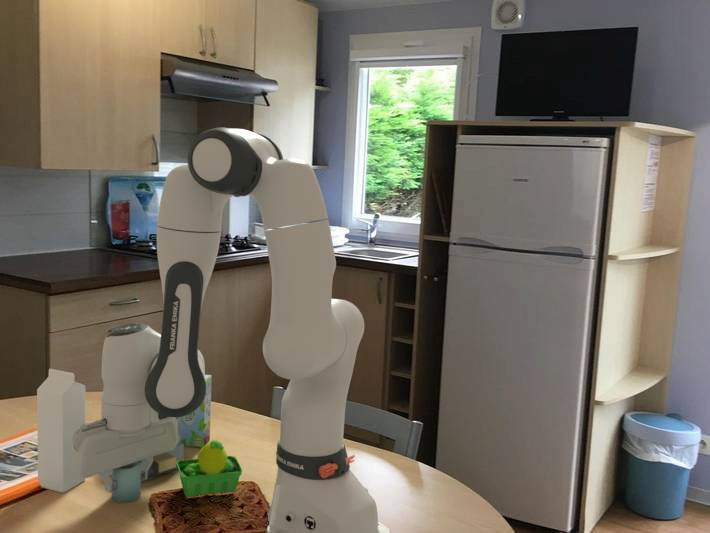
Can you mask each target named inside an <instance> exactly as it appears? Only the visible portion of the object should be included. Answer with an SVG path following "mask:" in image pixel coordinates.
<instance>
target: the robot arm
mask: <svg viewBox="0 0 710 533" xmlns="http://www.w3.org/2000/svg"><path fill="white" fill-rule="evenodd" d="M163 184H164V185H163V187H162V192H161V196H160V201H159V207H158V215H157V224H156V225H157V226H156V254H157V261H158V270H159V276H160V282H161V290H162V299H163V300H162V302H163V303H162V304H163V305H162V306H163V307H162V308H163V309H162V317H161V318H162V319H161V330H160V332H161V333H159V332H157V331H156V330H154V329H153V328H151V327H150V326H149V325H147V324H145V323H130V324H129V323H128V324H124V325H121V326H119V327H116V328H114V329H113V330H111V331H110V332H108V334H107V335H106V337H105V338H104V341H103V346H102V353H101V354H102V355H101V379H102V382H103V390H102V393H101V398H100V400H101V402H100V404H101V406H100V409H101V410H100V411H101V412H100V416H101V417H100V419H99V420H95V421H93V422H90V423H89V422H88V423H87V422H86V423H85V424H83V425H81V426H80V428H79V429H77V430H76V432H75V433H74V434H73V450H72V457H71V470H72V471H73V472H74V473H75V474H76V475H78V476H79V477H81V478H85V479H88V478H91V477H94V476H96V475H99V476H100V478H101V479H102V481H104V483H103V484H104V485H103V486H104V490H105V492H107V493H112V491H115V490H117V487H116V486H117V481H115V480H114V479H112V477H110V476H112V470H113V469H116V468H119V467H122V466H125V465H128V464H131V463H134V462H137V461H140V460H142V463H141V481H143V480H145V481H147V480H146V479H147V471H148V470H149V468H150V466H151V464H152V462H153V456H156V455H159V454H162V453H165V452H168V451H171V450H174V448H175V447H176V445H177V443H178V426H177V420H176V419H175V417H182V416H186V415H188V414H190V413H192V412H194V411H195V410H196V409H197V408H198V407H199V406H200V405H201V404H202V402H203V400H204V398H205V394H206V383H205V375H206V374H205V373H206V371H205V370H206V367H205V366H206V362H205V358H204V357H205V356H204V354H203V353H202V351H201V350H200V349H199V340H200V339H199V338H200V326H201V316H202V315H201V314H202V307H203V301H204V298H205V294H206V291H207V288H208V285H209V282H210V280H211V277H212V275H213V270H214V268H215V265H216V261H217V258H218V252H219V249H220V243H221V235H222V222H223V212H224V208H225V206H226V204H227V202H228V200H230V198H232V197H235V198H239V197H247V196H249V197H250V198H252V199H254V201H255V202H256V204H257V206H258V208H259V212H260V216H261V220H262V227H263V233H264V236H265V243H266V249H267V255H268V260H269V266H270V267H269V268H270V275H271V303H270V304H271V305H270V317H269V324H268V328H267V330H266V332H265V335H264V337H263V341H262V354H263V358H264V360H265V363H266V364H267V366H268V368H269V369H270V370H271V371H272V372H273V373H274V374H275V375H276V376H278V377H281V378H283V379H285V380H289V382H288V385H287V388H286V389H285V392H284V394H283V397H282V400H281V403H280V404H281V407H280V408H281V410H280V428H279V430H280V431H279V432H280V433H279V440H278V441H277V444H276V451H275V457H276V458H275V460H276V461H275V464H276V465H277V473H276V479H275V483H274V489H273V494H272V499H271V504H270V506H269V510H268V512H267V515H268V521H269V525H268V524H267V528H266V532H265V533H392V532H391V529H390V528H389V527H388V526H386V525H385V524H384V523H382V522H380V521H379V518H378V517H379V516H378V506H377V502H376V500H375V499H374V497H373V496H372V495H371V494H370V493H369V490H368V489H367V487H366V486H364V485H363V484H362V482H361V481H360V480H359V479H358V478H357V476H356V475H355V474H354V473H353V471H352V470H351V469H350V468H351V465H350V464H352V463H353V462H355V459H354V458H355V457H356V456H355V455H354V454H353V455H350V456H348V453H347V449H346V445H345V444H344V434H345V432H344V431H345V418H346V417H345V416H346V415H345V414H346V404H347V399H348V393H349V389H350V384H351V381H352V377H353V372H354V367H355V364H356V358H357V352H358V349H359V346H360V343H361V340H362V338H363V336H364V334H365V321H364V319H365V318H364V317H363V313H362V312H361V311H360V309H359V308H358V307H357V306H356V305H355V304H354V303H353V302H350V301H348V300H346V299H339V298H332V296H333V295H332V294H333V292H332V291H333V279H334V275H335V274H334V273H335V272H336V268H337V261H336V260H337V259H336V255H335V249H334V243H333V237H332V232H331V227H330V226H331V225H330V221H329V216H328V212H327V211H328V210H327V208H326V203H325V199H324V195H323V192H322V190H321V189H322V188H321V186H320V183H319V181H318V178H317V174H316V173H315V171H314V168H313V167H312V166H311V164H309V163H307V162H306V161H304V160H300V159H297V158H285V159H284V156H283V153H282V151H281V149H280V147H279V146H278V145H277V143H275V142H274V141H273V140H272V139H271V138H270V137H268V136H266V135H264V134H261V133H255V132H253V131H250V130H248V129H245V128H235V127H233V128H231V127H221V126H220V127H215V128H211V129H208V130H205V131H203V132H202V133H200V134H198V136H197V137H195V139H194V140H193V141H192V143H191V145H190V147H189V149H188V153H187V164H182V165H179V166H176V167H174V168H172V169H171V170H170V171H169V172H168V174H167V175H166V177H165V180H164V183H163ZM80 430H81V431H80ZM143 482H144V481H143Z"/></svg>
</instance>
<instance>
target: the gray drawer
mask: <svg viewBox="0 0 710 533" xmlns="http://www.w3.org/2000/svg"><path fill="white" fill-rule="evenodd" d="M184 448H185V446H184V444H183V443H181V442H180V436H178V443H177V445H176V447H175V448H174V450H171V451H168V452H165V453H162V454H159V455H156V456H153V462H152V464H151V466H150V468H149V470H148V471H147V479H146V480H143V481H141V483H142V482H145V481H147V480H148V481H149V480H151V479H154V478H157V477H159V476H162V475H165V474H168V473H171V472H174V471H176V470H178V468H177V464H176V462H177V461H179V460H184V454H185V452H184ZM139 462H140V463H142V460H140V461H139Z"/></svg>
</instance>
